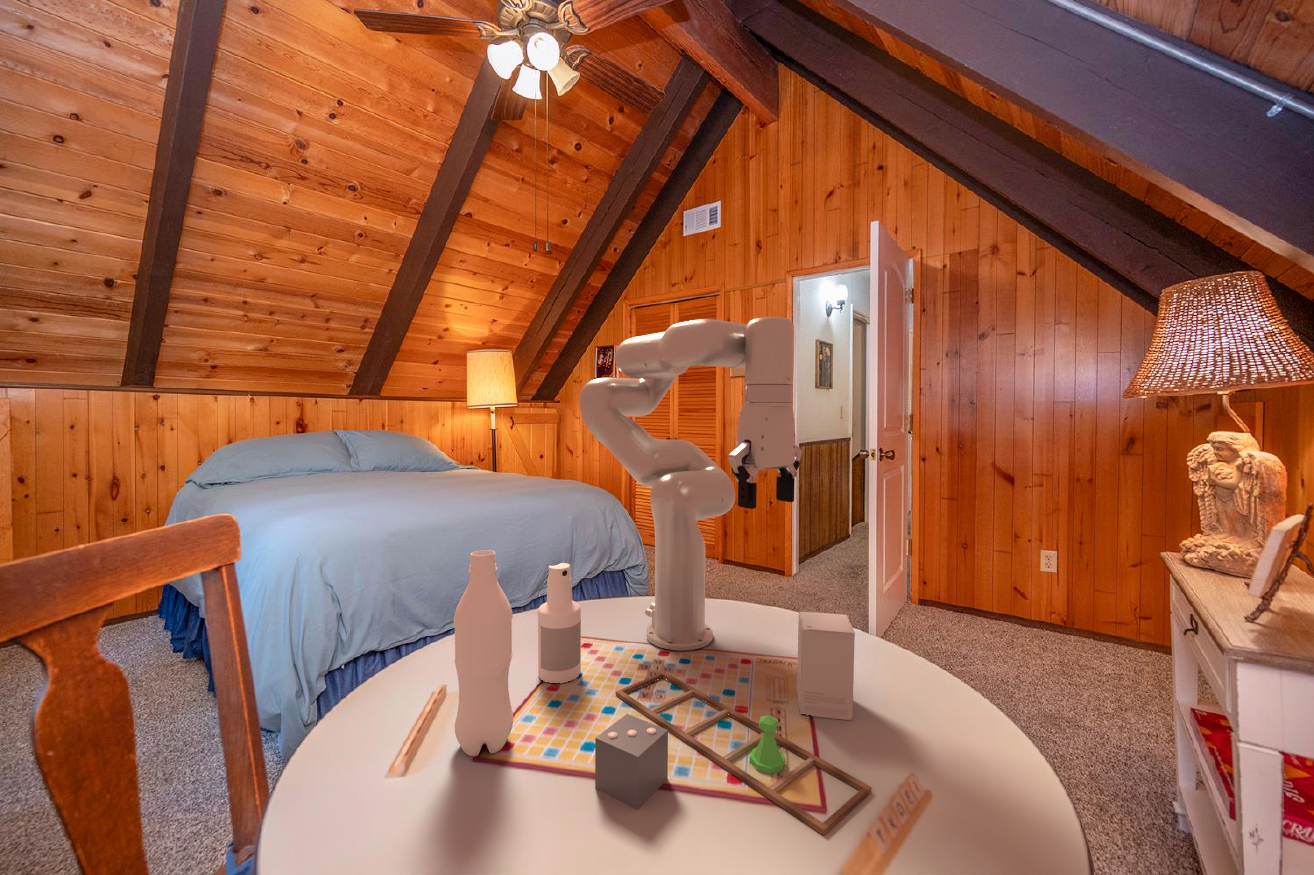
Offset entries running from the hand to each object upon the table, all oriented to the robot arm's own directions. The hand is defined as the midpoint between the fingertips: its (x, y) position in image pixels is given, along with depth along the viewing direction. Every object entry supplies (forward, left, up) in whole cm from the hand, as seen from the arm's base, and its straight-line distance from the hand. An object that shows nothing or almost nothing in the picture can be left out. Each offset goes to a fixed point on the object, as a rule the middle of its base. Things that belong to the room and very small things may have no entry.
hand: (766, 504), depth 87 cm
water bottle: (-12, -42, -28) cm, 52 cm away
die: (+6, -32, -28) cm, 43 cm away
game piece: (+14, -17, -28) cm, 36 cm away
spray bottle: (-22, -25, -28) cm, 44 cm away
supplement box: (+11, 0, -29) cm, 31 cm away
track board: (+7, -17, -28) cm, 34 cm away
